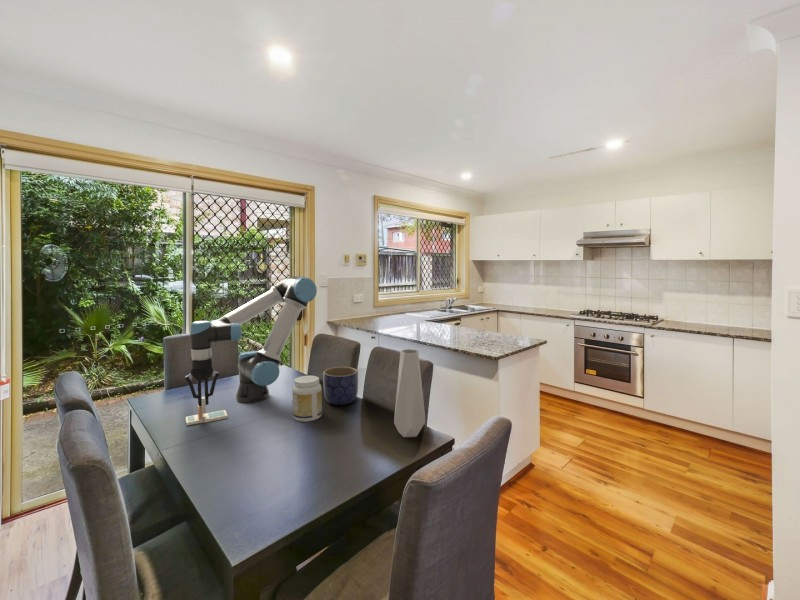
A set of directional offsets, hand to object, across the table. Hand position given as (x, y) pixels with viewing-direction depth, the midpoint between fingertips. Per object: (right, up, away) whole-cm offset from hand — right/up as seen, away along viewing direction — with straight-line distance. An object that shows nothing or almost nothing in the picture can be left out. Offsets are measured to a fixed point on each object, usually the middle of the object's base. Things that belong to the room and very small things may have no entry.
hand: (203, 412), depth 159 cm
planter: (+55, -1, +22) cm, 59 cm away
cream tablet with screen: (+4, -3, +2) cm, 5 cm away
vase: (+86, -5, -12) cm, 87 cm away
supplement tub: (+43, -3, +4) cm, 44 cm away
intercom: (-3, -3, -2) cm, 5 cm away
